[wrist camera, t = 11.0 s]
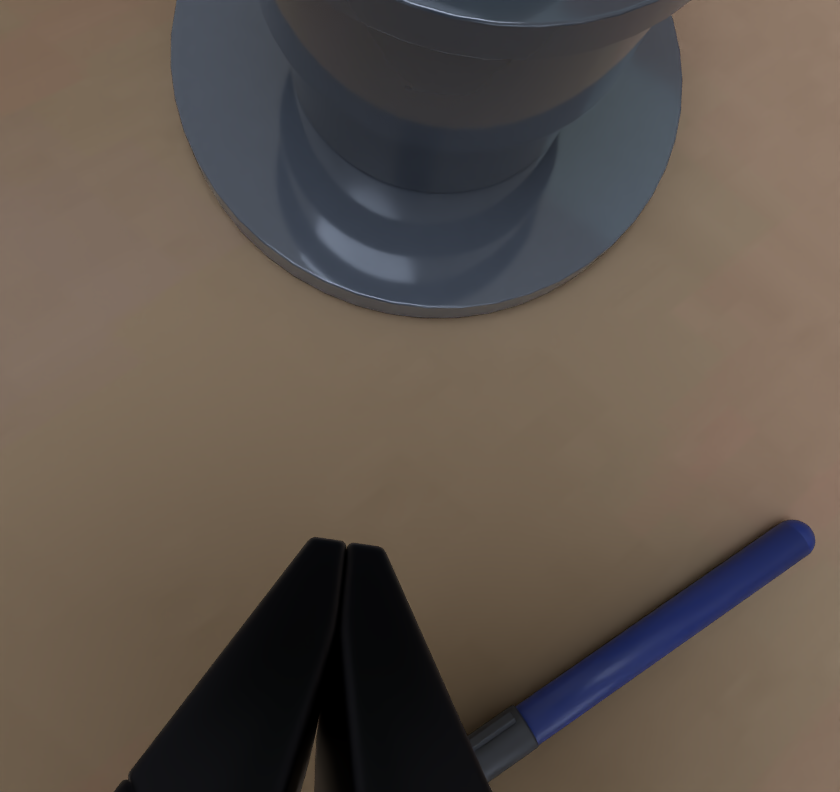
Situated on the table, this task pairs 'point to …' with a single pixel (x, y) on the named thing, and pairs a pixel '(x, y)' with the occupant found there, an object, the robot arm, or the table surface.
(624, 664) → the pen
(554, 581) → the table surface
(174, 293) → the table surface
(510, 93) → the plant pot
